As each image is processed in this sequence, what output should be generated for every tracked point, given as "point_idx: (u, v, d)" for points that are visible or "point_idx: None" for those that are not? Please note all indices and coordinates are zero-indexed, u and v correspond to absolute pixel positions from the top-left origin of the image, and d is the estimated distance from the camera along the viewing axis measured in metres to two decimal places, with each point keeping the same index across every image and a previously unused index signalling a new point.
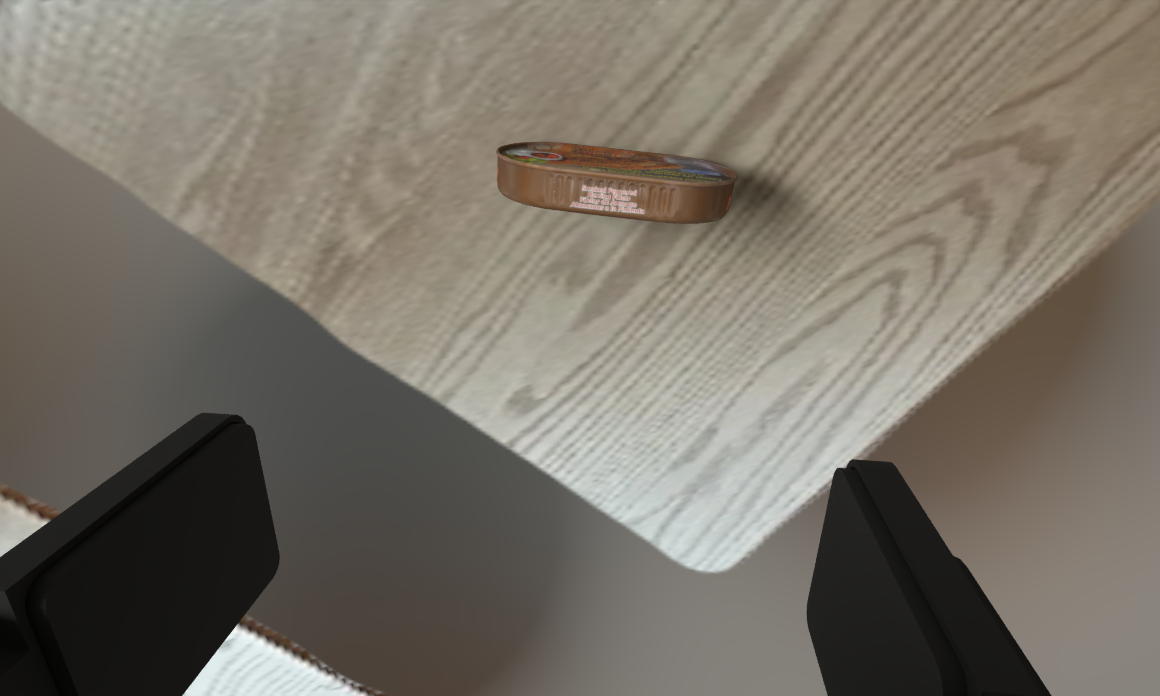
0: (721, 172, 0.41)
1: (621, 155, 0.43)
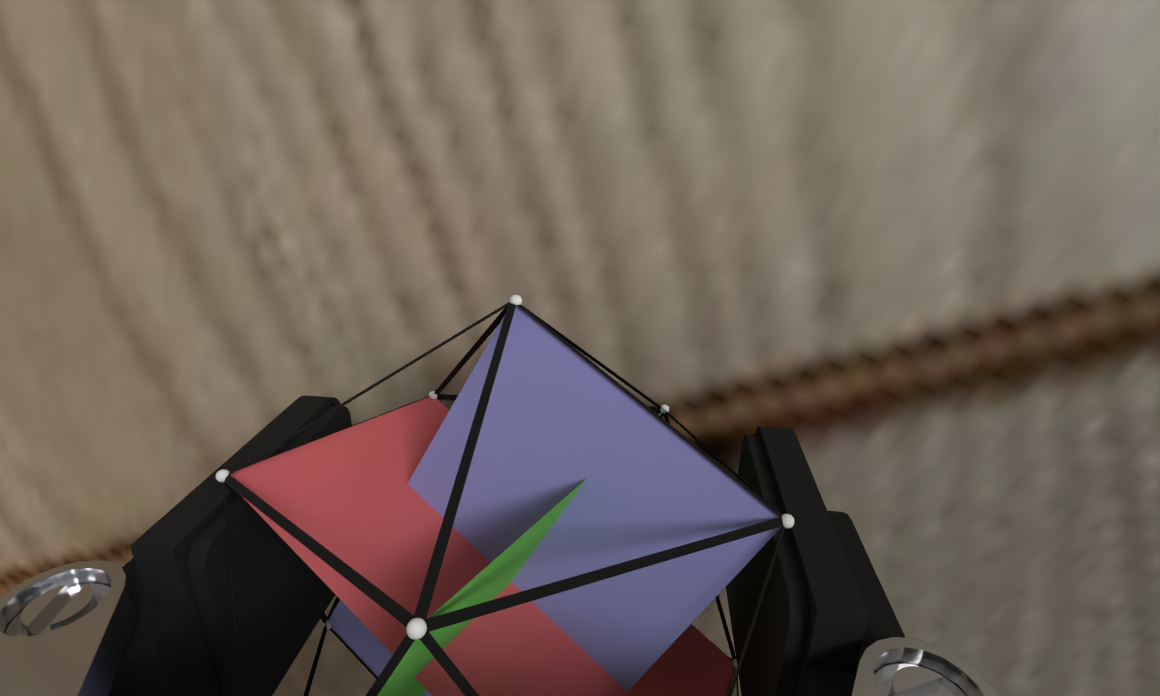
0: None
1: None
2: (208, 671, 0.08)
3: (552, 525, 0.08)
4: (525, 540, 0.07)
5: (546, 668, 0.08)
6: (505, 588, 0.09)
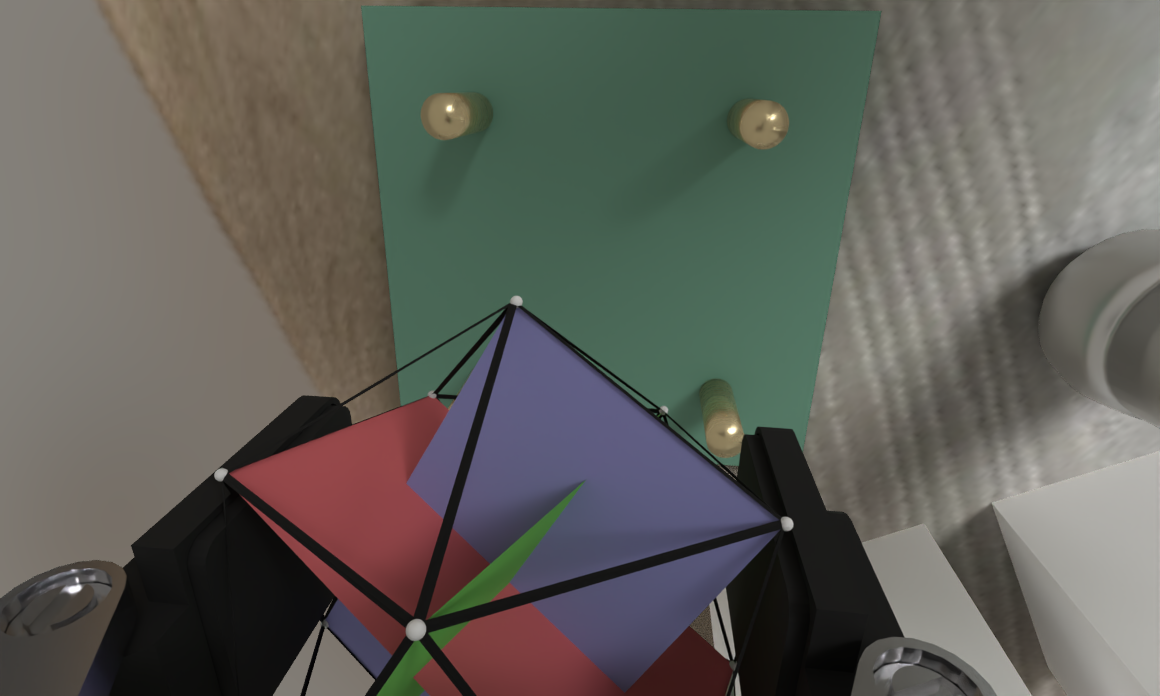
0: None
1: None
2: (207, 673, 0.08)
3: (551, 526, 0.08)
4: (524, 541, 0.07)
5: (544, 669, 0.08)
6: (503, 589, 0.09)
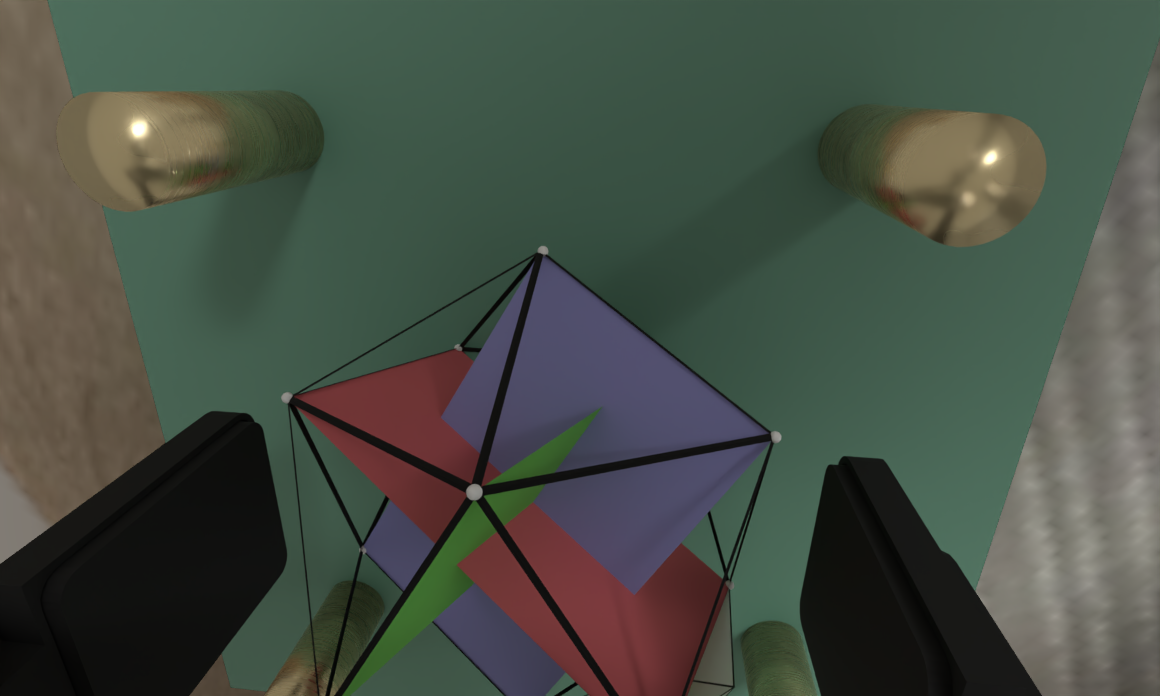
0: None
1: None
2: None
3: (571, 449, 0.09)
4: (552, 450, 0.08)
5: (565, 570, 0.09)
6: (528, 506, 0.10)
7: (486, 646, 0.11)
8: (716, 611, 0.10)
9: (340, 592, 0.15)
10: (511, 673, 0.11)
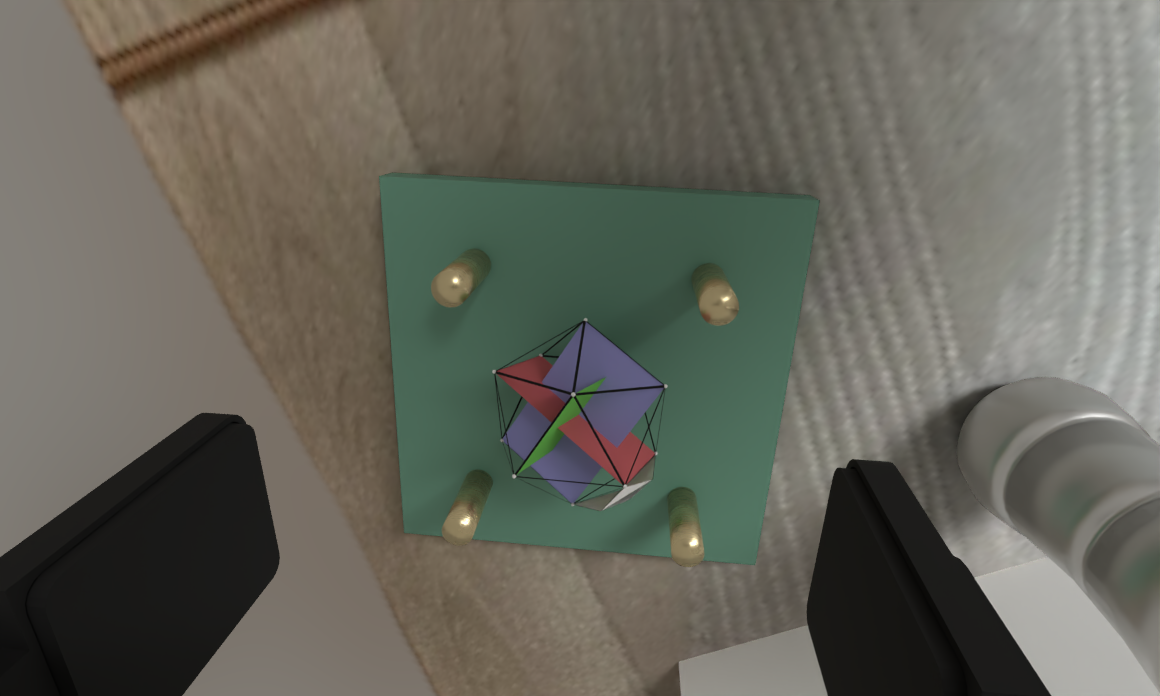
0: None
1: None
2: None
3: None
4: (590, 389, 0.24)
5: (592, 436, 0.25)
6: (577, 415, 0.26)
7: (557, 477, 0.27)
8: (649, 459, 0.26)
9: (473, 473, 0.31)
10: (566, 486, 0.27)
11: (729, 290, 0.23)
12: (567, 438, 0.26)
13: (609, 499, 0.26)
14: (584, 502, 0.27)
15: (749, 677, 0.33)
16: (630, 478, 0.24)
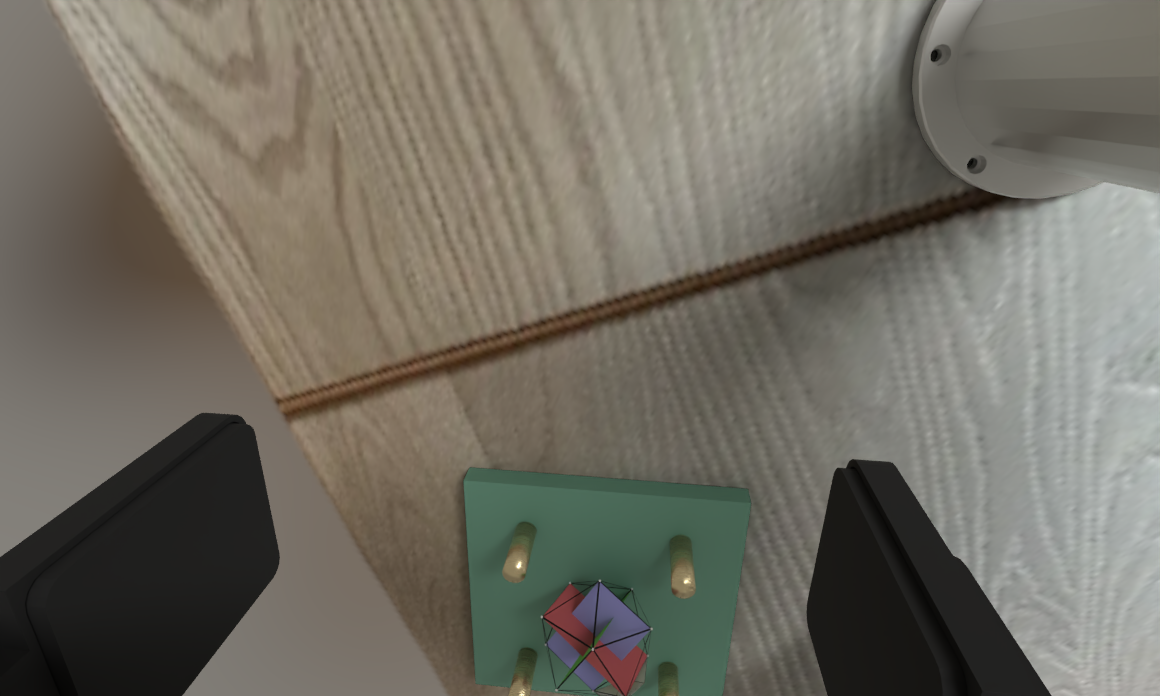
0: None
1: None
2: None
3: (606, 625, 0.39)
4: (603, 632, 0.38)
5: (605, 655, 0.39)
6: (595, 638, 0.40)
7: (582, 672, 0.41)
8: (642, 663, 0.40)
9: (524, 652, 0.45)
10: (589, 679, 0.41)
11: (689, 579, 0.37)
12: None
13: (617, 690, 0.40)
14: (600, 690, 0.41)
15: None
16: (629, 688, 0.38)
